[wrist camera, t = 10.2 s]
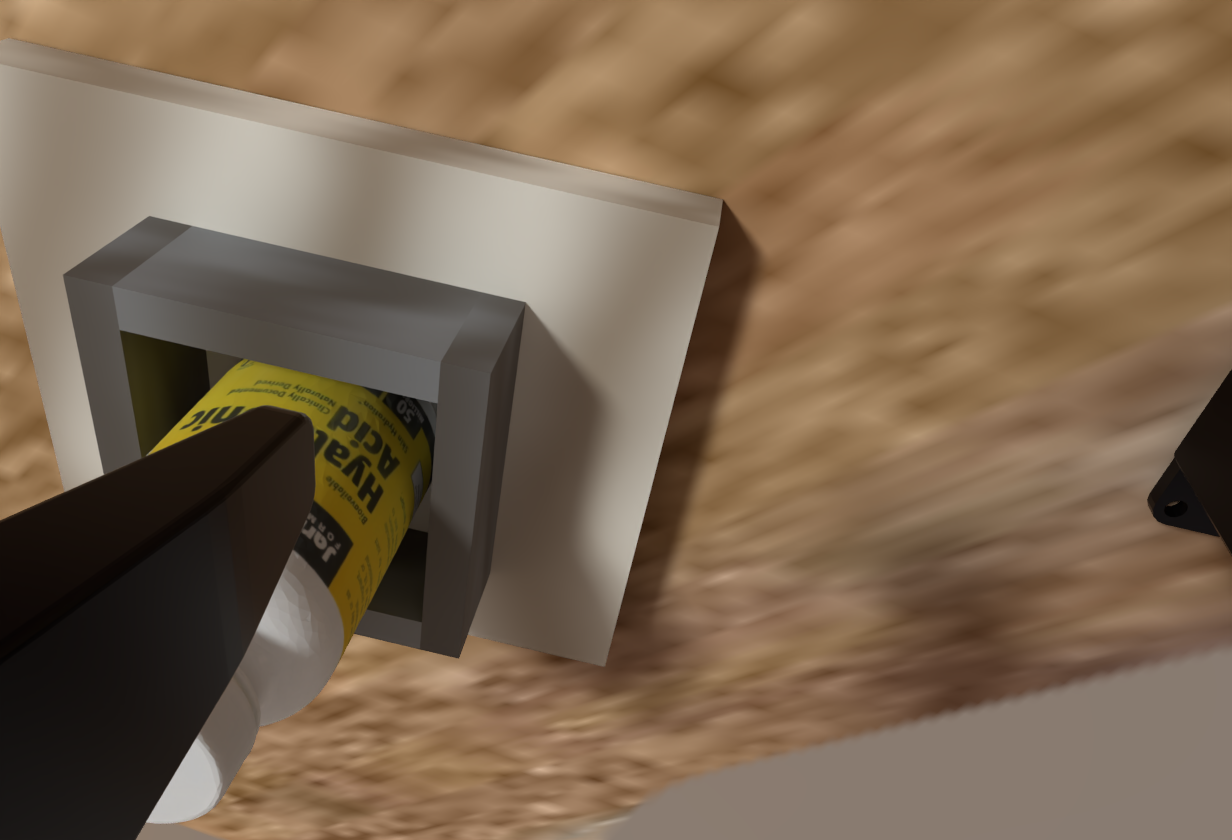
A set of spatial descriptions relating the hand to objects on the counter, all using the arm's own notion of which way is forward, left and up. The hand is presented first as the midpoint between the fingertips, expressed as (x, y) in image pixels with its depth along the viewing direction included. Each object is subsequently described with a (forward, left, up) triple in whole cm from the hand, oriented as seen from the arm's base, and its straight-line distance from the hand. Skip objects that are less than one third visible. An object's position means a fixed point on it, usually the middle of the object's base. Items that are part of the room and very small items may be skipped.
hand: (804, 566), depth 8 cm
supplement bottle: (+9, +9, -12) cm, 17 cm away
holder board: (+9, +9, -13) cm, 18 cm away
